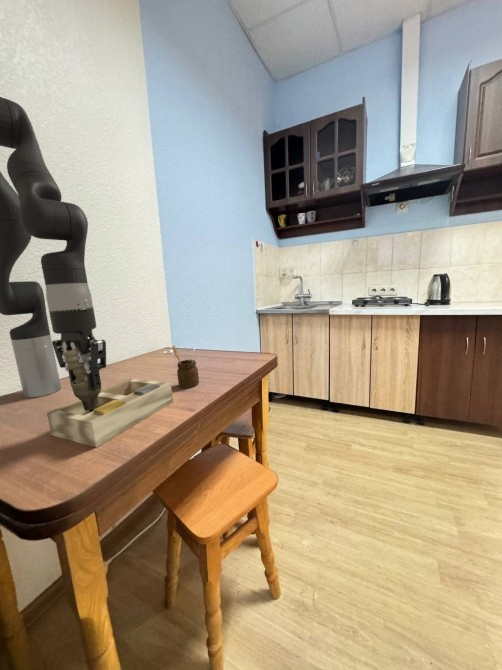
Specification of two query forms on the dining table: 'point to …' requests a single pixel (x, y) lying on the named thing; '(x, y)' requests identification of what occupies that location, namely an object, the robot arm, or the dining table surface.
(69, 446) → the dining table surface
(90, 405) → the light bulb
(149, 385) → the socket block
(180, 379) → the utensil holder
